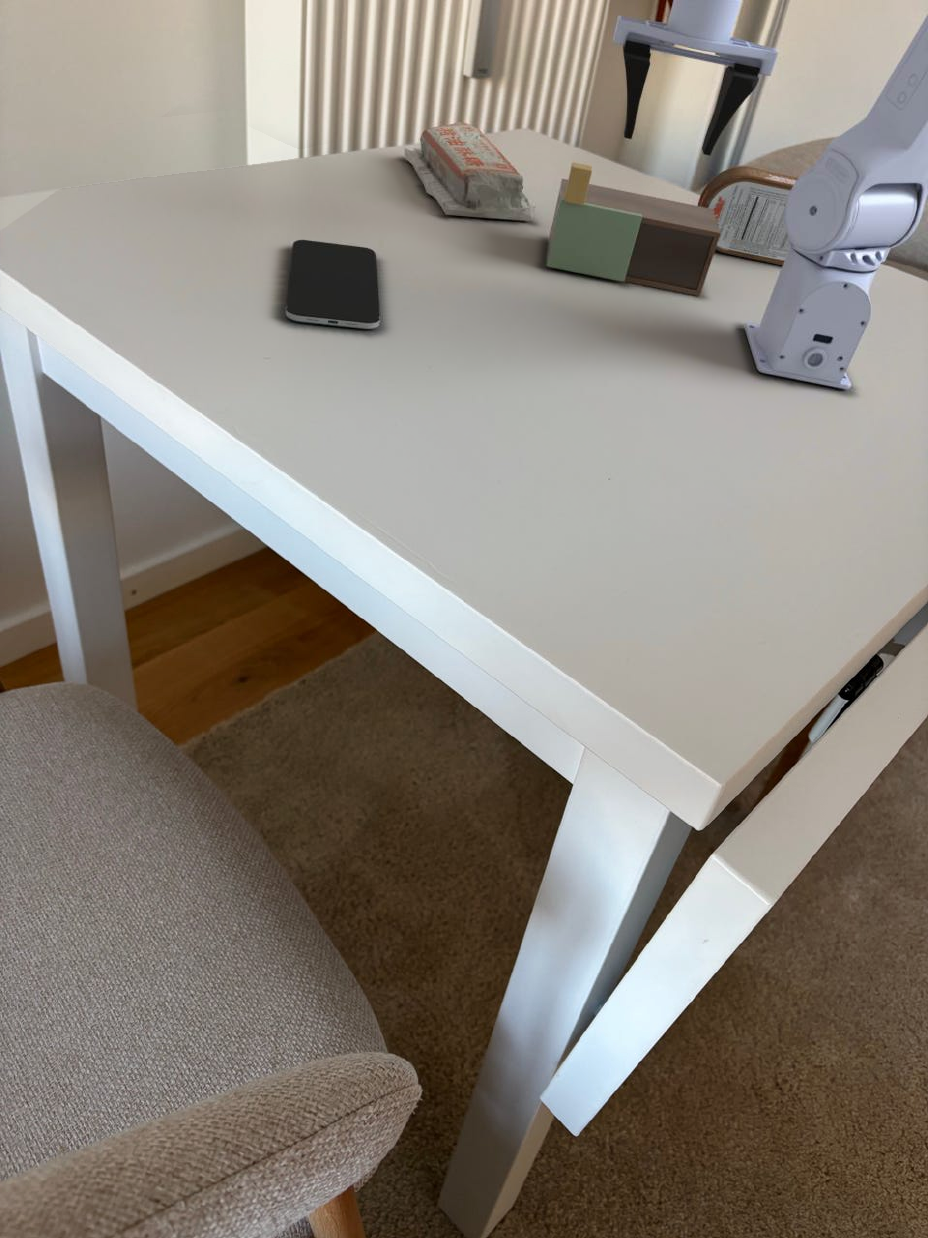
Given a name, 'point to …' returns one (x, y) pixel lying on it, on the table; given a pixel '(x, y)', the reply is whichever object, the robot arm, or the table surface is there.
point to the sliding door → (591, 232)
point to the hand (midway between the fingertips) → (666, 144)
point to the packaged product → (469, 174)
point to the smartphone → (333, 285)
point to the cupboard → (661, 238)
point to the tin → (750, 212)
